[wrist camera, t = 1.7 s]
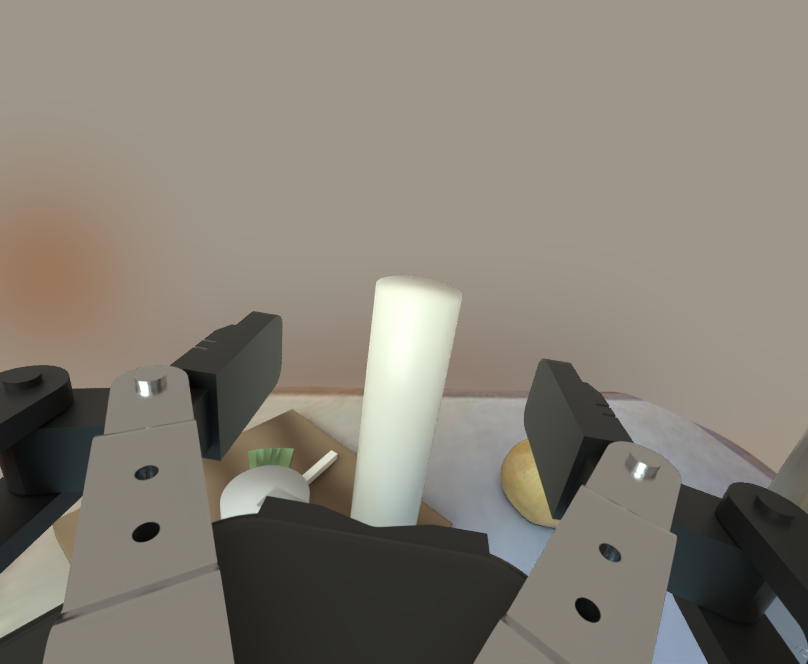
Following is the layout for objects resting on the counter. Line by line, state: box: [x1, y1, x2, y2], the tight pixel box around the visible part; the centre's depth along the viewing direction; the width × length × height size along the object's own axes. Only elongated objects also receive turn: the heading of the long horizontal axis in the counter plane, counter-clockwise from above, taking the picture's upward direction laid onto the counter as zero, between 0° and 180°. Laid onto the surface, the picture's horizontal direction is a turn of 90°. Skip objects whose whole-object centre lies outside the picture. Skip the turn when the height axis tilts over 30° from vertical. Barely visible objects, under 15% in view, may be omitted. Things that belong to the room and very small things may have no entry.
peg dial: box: [220, 275, 462, 527], centre depth 26 cm, size 11×14×20 cm
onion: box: [501, 439, 561, 528], centre depth 36 cm, size 8×8×7 cm
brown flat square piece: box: [52, 409, 452, 564], centre depth 31 cm, size 20×20×2 cm
